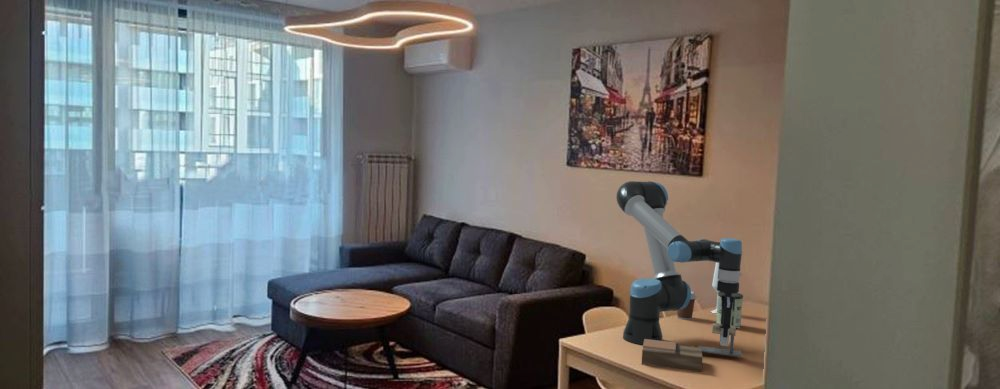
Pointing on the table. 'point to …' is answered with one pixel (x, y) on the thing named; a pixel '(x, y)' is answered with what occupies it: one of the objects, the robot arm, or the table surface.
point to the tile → (659, 345)
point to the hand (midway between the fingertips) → (723, 344)
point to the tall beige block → (717, 330)
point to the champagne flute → (715, 283)
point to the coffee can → (735, 309)
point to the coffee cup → (687, 309)
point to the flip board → (675, 358)
